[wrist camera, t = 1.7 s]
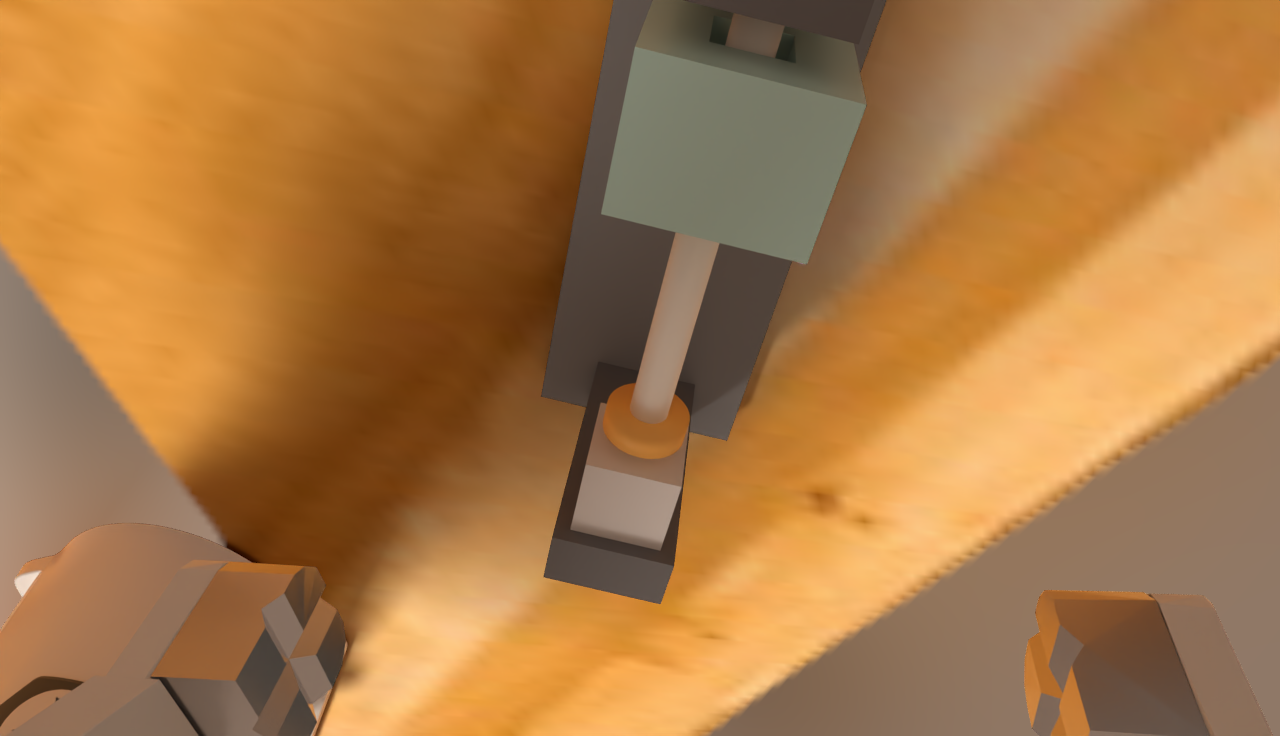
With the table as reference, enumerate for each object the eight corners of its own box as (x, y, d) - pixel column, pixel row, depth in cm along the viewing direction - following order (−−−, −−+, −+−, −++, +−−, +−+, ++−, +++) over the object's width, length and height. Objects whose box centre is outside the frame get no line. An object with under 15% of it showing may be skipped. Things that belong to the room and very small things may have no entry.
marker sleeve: (802, 173, 26) (806, 264, 22) (628, 130, 25) (601, 214, 21) (851, 31, 23) (866, 105, 19) (659, -17, 23) (635, 46, 19)
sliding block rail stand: (728, 417, 40) (714, 626, 31) (548, 374, 39) (482, 573, 31) (929, -146, 26) (1005, -59, 17) (657, -217, 26) (598, -164, 17)
